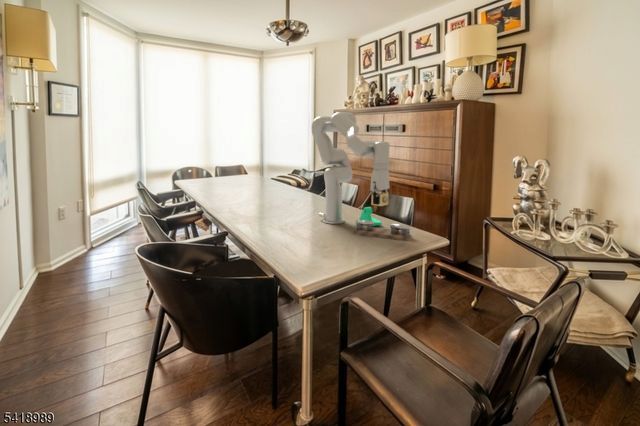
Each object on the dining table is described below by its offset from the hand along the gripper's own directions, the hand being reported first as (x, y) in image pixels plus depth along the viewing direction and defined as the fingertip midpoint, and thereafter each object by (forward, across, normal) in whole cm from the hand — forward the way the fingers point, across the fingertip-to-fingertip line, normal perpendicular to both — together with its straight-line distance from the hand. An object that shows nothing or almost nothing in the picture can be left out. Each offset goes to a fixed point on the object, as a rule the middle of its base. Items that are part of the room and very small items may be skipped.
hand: (379, 202), depth 179 cm
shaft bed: (+16, -1, +1) cm, 16 cm away
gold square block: (+1, 0, 0) cm, 1 cm away
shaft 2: (+15, -4, +10) cm, 18 cm away
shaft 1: (+14, +2, -7) cm, 16 cm away
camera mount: (+16, -12, -14) cm, 25 cm away
